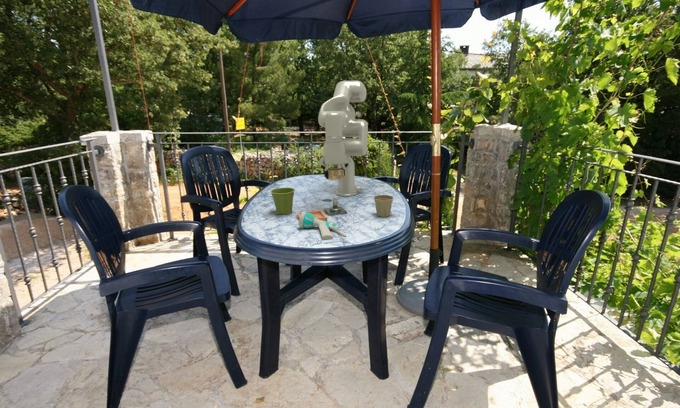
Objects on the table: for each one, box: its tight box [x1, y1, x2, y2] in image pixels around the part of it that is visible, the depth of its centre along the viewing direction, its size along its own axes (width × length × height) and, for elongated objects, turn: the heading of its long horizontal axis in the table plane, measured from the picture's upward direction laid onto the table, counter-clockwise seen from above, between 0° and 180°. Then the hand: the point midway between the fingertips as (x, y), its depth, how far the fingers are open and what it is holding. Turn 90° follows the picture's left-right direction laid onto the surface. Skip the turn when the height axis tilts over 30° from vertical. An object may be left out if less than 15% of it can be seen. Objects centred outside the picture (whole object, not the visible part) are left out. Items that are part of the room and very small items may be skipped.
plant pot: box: [270, 187, 296, 216], centre depth 168 cm, size 12×12×11 cm
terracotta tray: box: [296, 209, 328, 222], centre depth 159 cm, size 12×12×2 cm
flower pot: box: [373, 194, 395, 218], centre depth 162 cm, size 9×9×9 cm
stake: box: [323, 198, 348, 216], centre depth 169 cm, size 9×9×6 cm
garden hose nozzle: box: [298, 211, 347, 241], centre depth 145 cm, size 7×18×20 cm
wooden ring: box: [327, 167, 344, 181], centre depth 165 cm, size 7×7×4 cm
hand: (334, 177), depth 165 cm, fingers closed on wooden ring, 7 cm apart
